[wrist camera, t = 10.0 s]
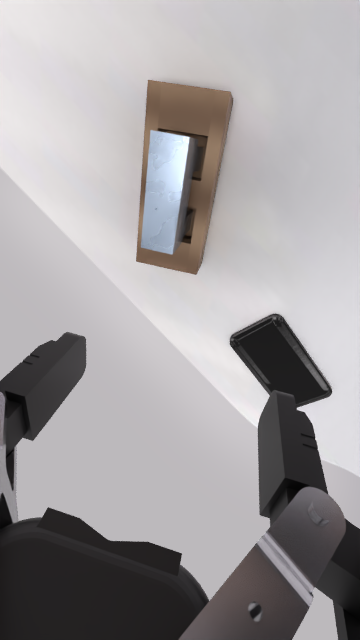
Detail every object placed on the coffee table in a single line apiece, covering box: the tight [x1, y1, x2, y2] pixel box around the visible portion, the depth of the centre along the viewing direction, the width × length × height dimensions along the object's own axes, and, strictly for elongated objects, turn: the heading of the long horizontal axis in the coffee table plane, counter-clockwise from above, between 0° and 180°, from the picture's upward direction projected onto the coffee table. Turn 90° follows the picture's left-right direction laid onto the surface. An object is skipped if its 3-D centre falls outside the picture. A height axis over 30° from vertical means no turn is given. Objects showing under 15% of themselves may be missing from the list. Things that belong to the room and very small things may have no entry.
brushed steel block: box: [141, 130, 204, 255], centre depth 27 cm, size 9×3×8 cm, turn 171°
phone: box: [230, 314, 332, 408], centre depth 39 cm, size 8×1×15 cm
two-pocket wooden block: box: [136, 80, 233, 274], centre depth 29 cm, size 16×7×4 cm, turn 172°
